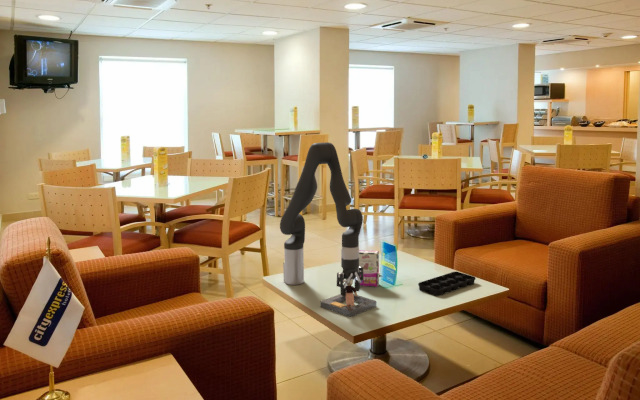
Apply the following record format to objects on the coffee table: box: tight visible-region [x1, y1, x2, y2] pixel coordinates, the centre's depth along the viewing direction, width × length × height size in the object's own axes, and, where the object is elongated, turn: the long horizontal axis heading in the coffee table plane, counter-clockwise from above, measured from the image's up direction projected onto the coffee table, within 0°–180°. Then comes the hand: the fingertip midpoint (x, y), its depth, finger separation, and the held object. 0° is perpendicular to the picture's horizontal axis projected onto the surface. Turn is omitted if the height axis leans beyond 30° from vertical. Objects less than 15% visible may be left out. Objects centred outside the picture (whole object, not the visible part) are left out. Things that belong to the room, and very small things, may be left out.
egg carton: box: [417, 271, 476, 297], centre depth 255 cm, size 18×30×4 cm, turn 141°
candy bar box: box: [359, 249, 380, 288], centre depth 258 cm, size 11×5×16 cm, turn 76°
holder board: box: [319, 293, 377, 318], centre depth 231 cm, size 17×16×3 cm
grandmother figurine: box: [345, 279, 358, 307], centre depth 231 cm, size 8×4×13 cm, turn 70°
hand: (350, 293), depth 231 cm, fingers open, 8 cm apart
